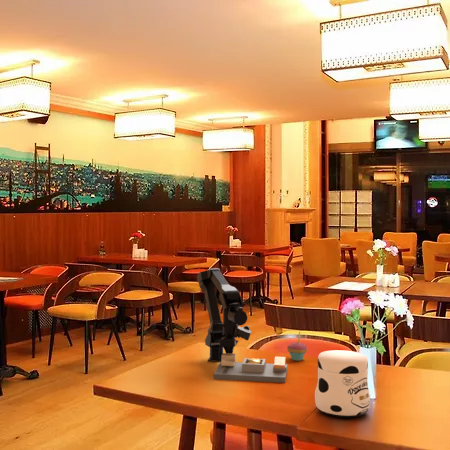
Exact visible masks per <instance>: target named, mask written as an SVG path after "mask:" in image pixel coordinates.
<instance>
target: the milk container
mask: <svg viewBox="0 0 450 450" xmlns="http://www.w3.org/2000/svg"><path fill="white" fill-rule="evenodd" d="M368 368H369V363H368V357H367V355H365V354H363V353H361V352H357V351H352V350H343V349H342V350H337V349H334V350H333V349H332V350H325V351H322V352H320V353H319V354H318V357H317V383H316V387H315V391H314V401H315V407H316V408H317V409H318V410H319V411H320V412H321V413H323V414H325V415H328V416H332V417H336V418H346V419H347V418H357V417H361V416H363V415H364V414H366V413H367V412H368V411H369V409H370V407H371V406H370V405H371V393H370V390H369V386H368V384H369V383H368V376H369V375H368V373H369V371H368V370H369V369H368Z"/></svg>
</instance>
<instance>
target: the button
mask: <svg viewBox="0 0 450 450" xmlns="http://www.w3.org/2000/svg"><path fill="white" fill-rule="evenodd" d="M260 359H261V358H251V359H248V363H249V364H261V360H260Z"/></svg>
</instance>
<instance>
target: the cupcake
mask: <svg viewBox="0 0 450 450" xmlns="http://www.w3.org/2000/svg"><path fill="white" fill-rule="evenodd" d="M300 340H301V331H299V332H298V341H297V342H294V341H293V342H291V343H290V344H289V345H287V349H286V350H287V352H289V355H290V358H291V360H292V361H298V362H299V361H303V360H304V356H305V354H306V353H307V352H308V346H307V345H306V344H305V343H303V342H301V341H300Z"/></svg>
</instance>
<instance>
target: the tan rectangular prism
mask: <svg viewBox="0 0 450 450" xmlns="http://www.w3.org/2000/svg"><path fill="white" fill-rule="evenodd" d="M220 362H221V366H234V365H235V362H236V353H233V354H232V353H226V352H223V354H222V356H221V361H220Z"/></svg>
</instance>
